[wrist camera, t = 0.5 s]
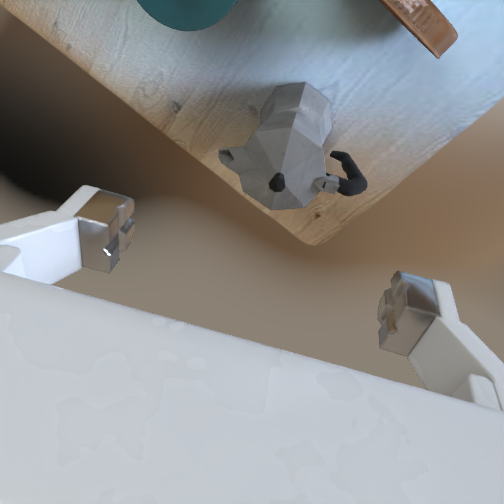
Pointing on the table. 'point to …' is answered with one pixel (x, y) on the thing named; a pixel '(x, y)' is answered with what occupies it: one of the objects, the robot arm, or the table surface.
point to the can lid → (187, 12)
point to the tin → (424, 23)
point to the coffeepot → (291, 152)
